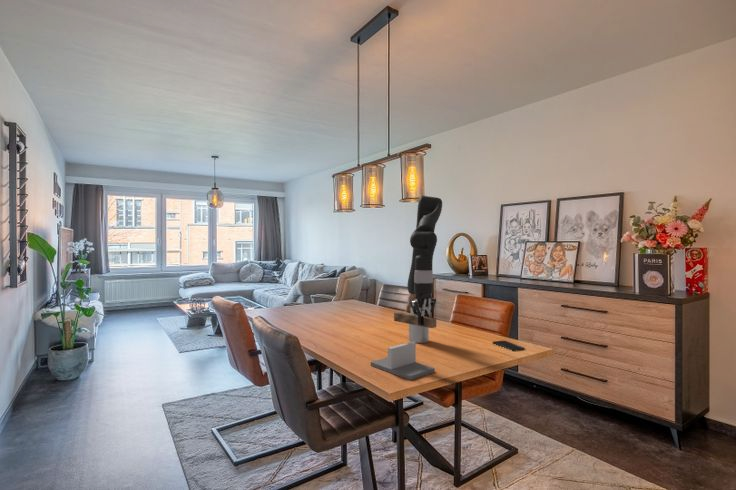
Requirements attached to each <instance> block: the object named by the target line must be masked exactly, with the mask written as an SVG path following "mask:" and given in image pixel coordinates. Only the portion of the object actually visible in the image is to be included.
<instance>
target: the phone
mask: <svg viewBox="0 0 736 490" xmlns="http://www.w3.org/2000/svg"><path fill="white" fill-rule="evenodd" d="M495 344H496V345H495ZM492 345H495V346H497V345H498V346H497V347H500V346H501V348H502V347H504V348H503V349H505V348H506V350H508V349H509V350H508V351H510V350H512V351H511V352H516V350H520V351H525V350H524V349H526V348H525V346H524V347H523V346H521V345H518V344H516V343H512V342H510V341H506V340H497V341H492Z"/></svg>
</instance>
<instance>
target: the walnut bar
mask: <svg viewBox="0 0 736 490" xmlns="http://www.w3.org/2000/svg"><path fill="white" fill-rule="evenodd" d="M393 321H394V322H397V323H403V324H408V325H409V324H412V325H417V326H420V325H418V316H417V315H414V314H411V313H408V312H401V311H396V312H394V313H393ZM423 327H428V328H429V329H434V328H437V317H431V316H430V317H426V316H424V325H423Z"/></svg>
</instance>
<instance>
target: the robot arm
mask: <svg viewBox="0 0 736 490" xmlns="http://www.w3.org/2000/svg"><path fill="white" fill-rule="evenodd" d="M442 209H443V200H442V199H441V198H440V197H435V196H427V195H420V197H419V199H418V204H417V210H416V211H417V213H416V228H415V229H414V231H412V233H411V235H410V237H409V243H410V246H411V248H412V255H411V265H410V268H409V269H410V270H409V274H408V279H407V292H408V294H410V295H415V297H414V299H413V300H411V301H410V314H414V315H417V316H418V325H420V326H417V325H412V324H408V340H409V341H410V342H415V343H417V344H425V343H429V338H430V337H429V336H430V335H429V333H430V332H429V329H430V328H428V327H423V325H424V316H426V317H431V314H433V313H434V311H435V310H434V309H435V307H436V303H437V298H434V297H432V295H433V293H434V273H433V258H434V252H435V250H436V247H437V242H438V237H437V234H436V233H435V229H436V225H437V222H438V221H439V220H440V219H439V218H440V216H441V213H442Z"/></svg>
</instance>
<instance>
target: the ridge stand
mask: <svg viewBox="0 0 736 490" xmlns="http://www.w3.org/2000/svg"><path fill="white" fill-rule="evenodd" d="M416 345H417V344H416V343H415V342H412V341H408V342H405V343H401V344H397V345H394V346H390V347H389V346H388V347H387V357H384V358H379V359H378V360H373V361H371V362H370V366H371V367H374V368H377V369H379V370H381V371H385V372H387V373H390V374H393V375H396V376H398V377H401V378H404V379H406V380H409V381H414V380H415V379H418V378H420V377H423V376H427V375H429V374H433V373H435V370H436V369H435V367H434V366H429V365H426V364H424V363H420V362H417V361H416V360H417V359H416V347H417V346H416Z"/></svg>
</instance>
